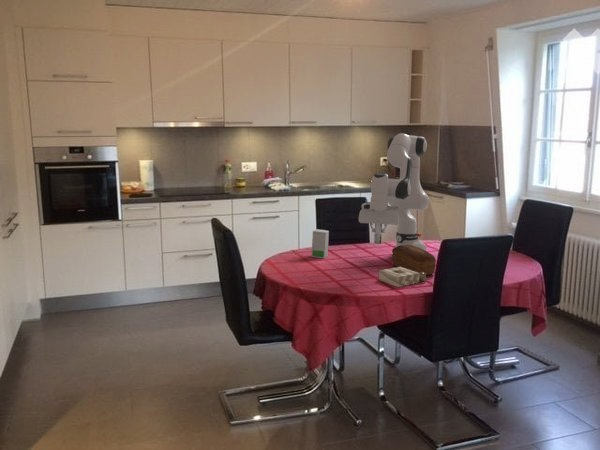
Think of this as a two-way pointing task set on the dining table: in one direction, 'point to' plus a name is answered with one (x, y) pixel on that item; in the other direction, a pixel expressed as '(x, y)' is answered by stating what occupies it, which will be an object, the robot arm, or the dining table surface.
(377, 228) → the tall steel pin
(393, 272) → the birch block
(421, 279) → the short bronze pin
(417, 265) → the bread
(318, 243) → the skincare box
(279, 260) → the dining table surface
